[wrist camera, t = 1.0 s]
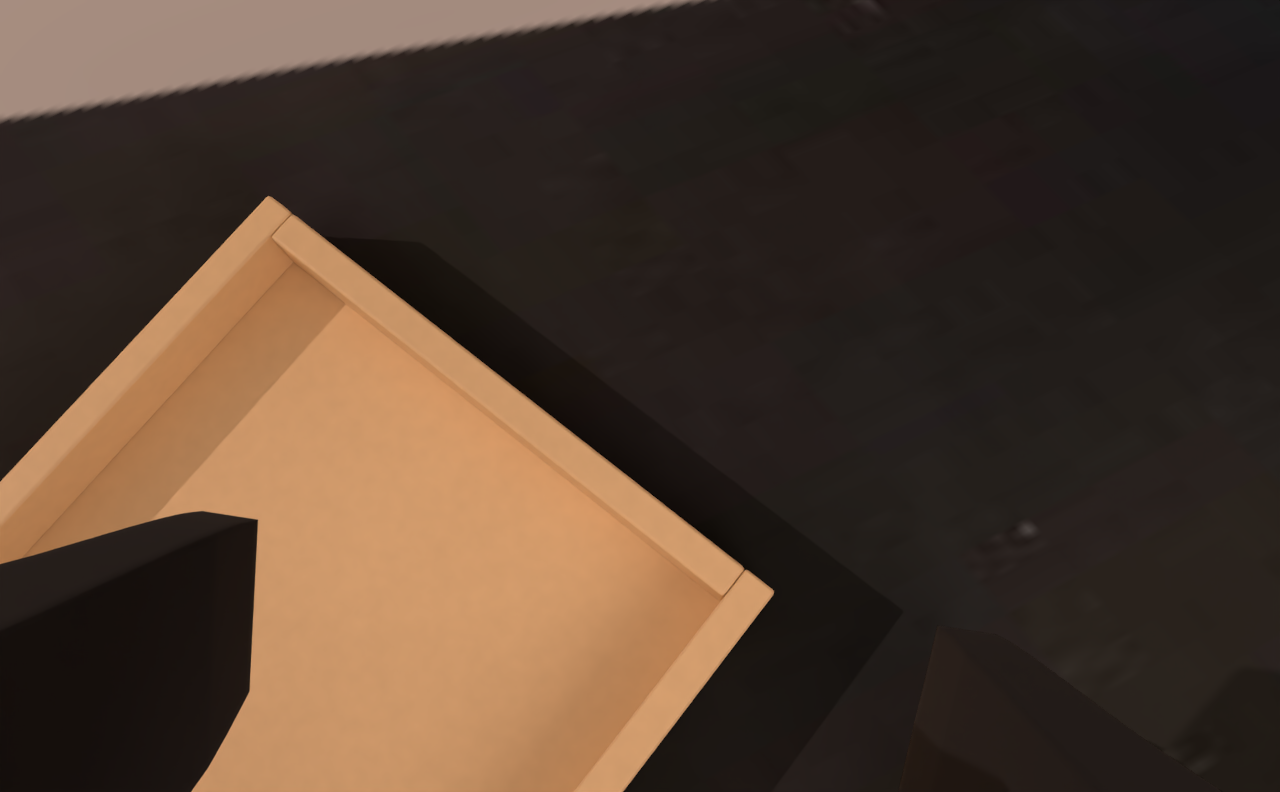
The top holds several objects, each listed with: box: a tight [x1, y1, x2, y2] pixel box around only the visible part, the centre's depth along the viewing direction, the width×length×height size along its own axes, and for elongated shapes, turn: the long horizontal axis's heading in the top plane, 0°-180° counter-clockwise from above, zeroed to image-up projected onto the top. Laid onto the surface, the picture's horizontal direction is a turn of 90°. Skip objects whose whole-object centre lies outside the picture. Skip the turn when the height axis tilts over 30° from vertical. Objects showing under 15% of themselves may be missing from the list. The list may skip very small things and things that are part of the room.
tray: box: [0, 196, 774, 792], centre depth 22 cm, size 13×12×2 cm
